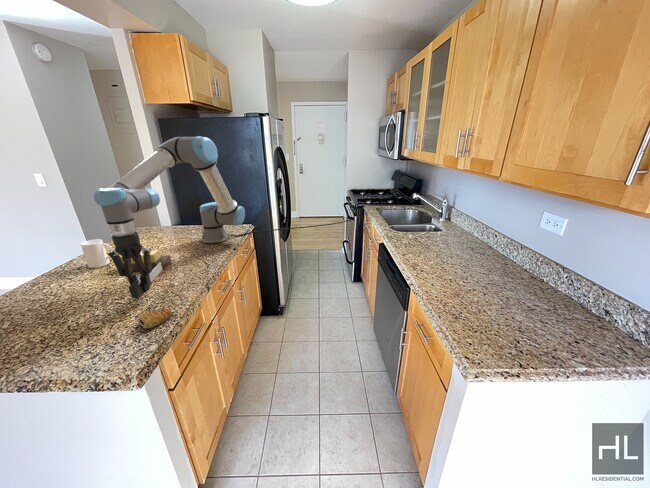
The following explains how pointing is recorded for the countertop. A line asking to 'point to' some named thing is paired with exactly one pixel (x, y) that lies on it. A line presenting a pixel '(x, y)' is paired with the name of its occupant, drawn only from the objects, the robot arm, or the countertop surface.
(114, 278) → the countertop surface
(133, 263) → the butter
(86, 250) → the mug
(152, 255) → the butter slice
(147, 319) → the pastry
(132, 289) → the butter knife
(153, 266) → the butter board
